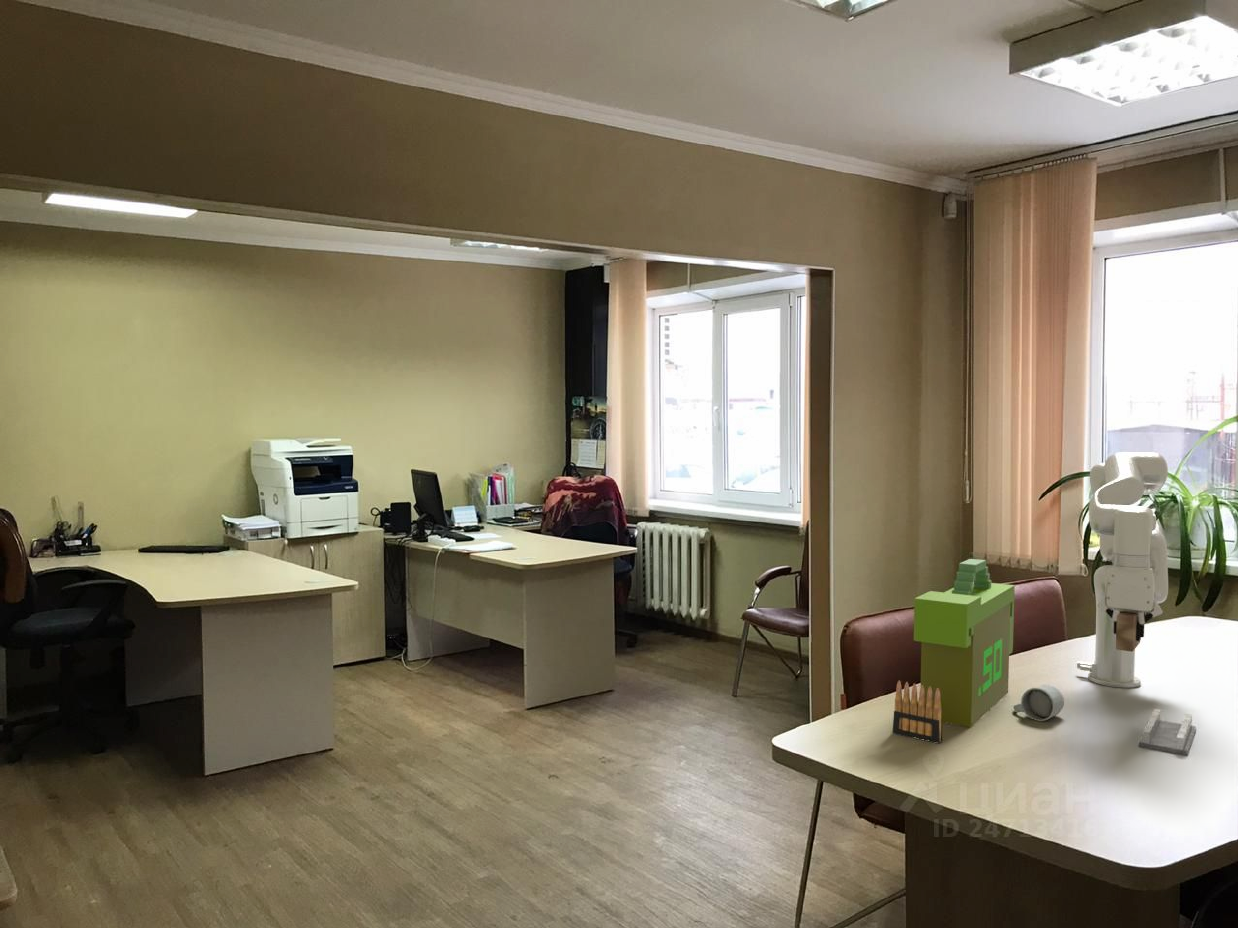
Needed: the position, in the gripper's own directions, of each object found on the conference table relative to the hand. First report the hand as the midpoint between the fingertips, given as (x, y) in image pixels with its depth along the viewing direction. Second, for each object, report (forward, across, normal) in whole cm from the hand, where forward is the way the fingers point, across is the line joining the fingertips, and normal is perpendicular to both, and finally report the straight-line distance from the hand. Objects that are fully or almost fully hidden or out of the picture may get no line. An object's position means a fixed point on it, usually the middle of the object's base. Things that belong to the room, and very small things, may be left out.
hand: (1128, 637), depth 223 cm
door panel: (+2, 0, 0) cm, 2 cm away
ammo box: (+19, -34, -13) cm, 41 cm away
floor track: (+19, +10, -11) cm, 24 cm away
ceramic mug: (+20, -17, -11) cm, 28 cm away
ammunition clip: (+19, -35, -44) cm, 59 cm away
